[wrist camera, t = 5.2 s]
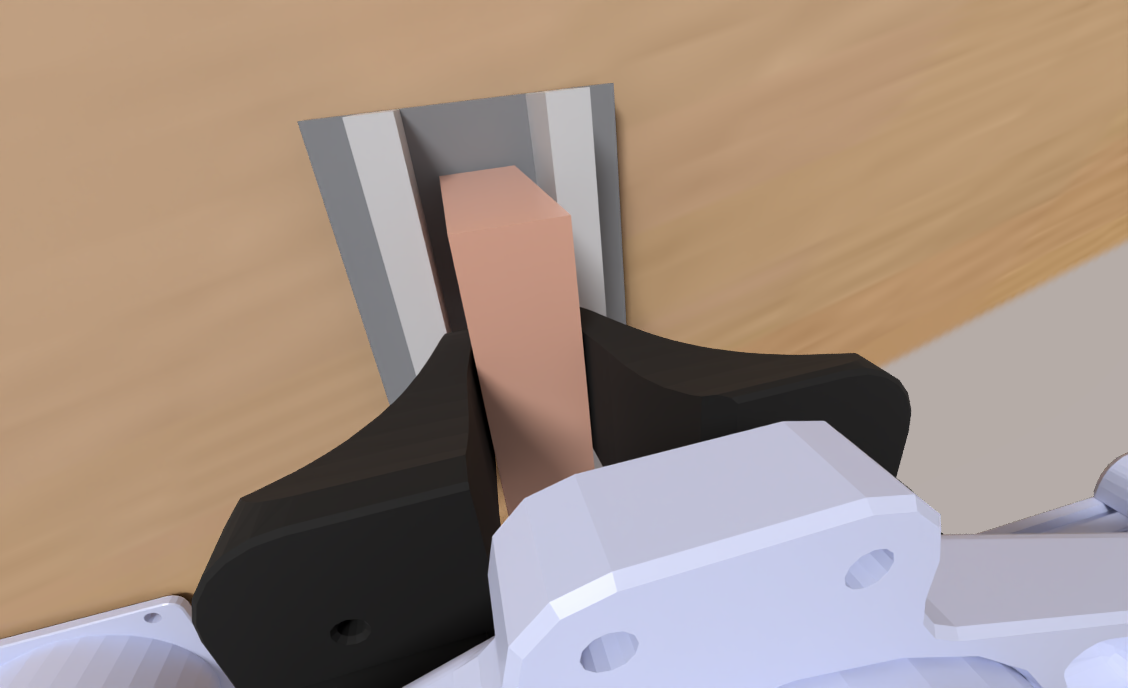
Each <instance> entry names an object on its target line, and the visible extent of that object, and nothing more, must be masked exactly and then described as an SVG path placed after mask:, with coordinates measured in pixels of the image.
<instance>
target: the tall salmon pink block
mask: <svg viewBox="0 0 1128 688" xmlns="http://www.w3.org/2000/svg"><path fill="white" fill-rule="evenodd" d="M439 178H440V185H441V192H442V199H443V206H444V213H445V220H446V227H447V234H448V239H449V244H450V248H451V253H452V257H453V262H454V267H455V271H456V276H457V280H458V285H459V290H460V294H461V299H462V303H463V308H464V313H465V317H466V322H467V326H468V331H469V336H470V340H471V345H472V349H473V354H474V359H475V363H476V368H477V373H478V377H479V382H480V386H481V391H482V396H483V400H484V405H485V409H486V414H487V419H488V423H489V428H490V432H491V437H492V442H493V446H494V451H495V455H496V460H497V465H498V469H499V474H500V478H501V483H502V488H503V492H504V497H505V502H506V506H507V511H508V515H509V516H510V515H511V514H512V512H513V511H514V510H515V509H516V508H517V506H518V505H519V504H520V503H521V502H522V501H523V499H524V498H526V497H528V496H530V495H532V494H534V493H536V492H539V491H541V490H543V489H545V488H547V487H549V486H551V485H553V484H555V483H557V482H559V481H562V480H564V479H566V478H568V477H570V476H572V475H574V474H578V473H582V472H586V471H590V470H593V469H595V467H594V457H593V446H592V435H591V425H590V414H589V403H588V392H587V382H586V371H585V360H584V350H583V339H582V328H581V317H580V307H579V296H578V285H577V274H576V264H575V253H574V242H573V232H572V221H571V215H570V214H569V213H568V212H567V211H566V210H565V209H564V208H562V207H561V206H560V205H559V204H558V203H557V202H556V201H554V200H553V199H552V198H551V197H550V196H549V195H548V194H547V193H545V192H544V191H543V190H542V189H541V188H540V187H539V186H537V185H536V184H535V183H534V182H533V181H532V180H531V179H530V178H528V177H527V176H526V175H525V174H524V173H523V172H522V171H520V170H519V169H518V168H517V167H516V166H515V165H513V166H506V167H499V168H492V169H485V170H478V171H472V172H465V173H458V174H451V175H444V176H439Z"/></svg>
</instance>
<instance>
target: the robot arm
mask: <svg viewBox="0 0 1128 688" xmlns="http://www.w3.org/2000/svg"><path fill="white" fill-rule="evenodd" d="M580 317H581V328H582V339H583V350H584V360H585V371H586V382H587V392H588V403H589V414H590V425H591V435H592V446H593V450H594V451H595V453H596V455H597V457H598V459H599V461H600V462H601V464H602V466H603V467H601V468H597V469H593V470H590V471H586V472H582V473H578V474H574V475H572V476H570V477H568V478H566V479H564V480H562V481H559V482H557V483H555V484H553V485H551V486H549V487H547V488H545V489H543V490H541V491H539V492H536V493H534V494H532V495H530V496H528V497H526V498H524V499H523V501H522V502H521V503H520V504H519V505H518V506H517V508H516V509H515V510H514V511H513V512H512V514H511V515H510V516H509V517H508V518H507V519H506V521H505V522H504V523H503V524H502V525H500V516H499V505H498V491H497V476H496V462H495V451H494V446H493V442H492V437H491V432H490V428H489V423H488V419H487V414H486V409H485V405H484V400H483V396H482V391H481V386H480V382H479V377H478V373H477V368H476V363H475V359H474V354H473V349H472V345H471V340H470V336H469V331H468V329H465V330H460V331H455V332H450V333H445V334H444V335H443V337H442V338H441V340H440V341H439V343H438V345H437V346H436V348H435V350H434V351H433V353H432V354H431V356H430V358H429V359H428V361H427V362H426V364H425V365H424V366H423V368H422V369H421V371H420V372H419V374H418V375H417V376H416V377H415V379H414V380H413V381H412V382H411V384H410V385H409V386H408V387H407V388H406V390H405V391H404V392H403V393H402V394H401V395H400V396H399V397H398V398H397V399H396V400H395V401H394V402H393V403H392V404H391V405H390V406H389V407H388V408H387V409H386V410H385V411H384V412H383V413H382V414H380V415H379V416H378V417H377V418H376V419H374V420H373V421H372V422H370V423H369V424H368V425H367V426H365V427H364V428H363V429H361V430H360V431H359V432H357V433H356V434H355V435H353V436H352V437H351V438H350V439H348V440H347V441H345V442H344V443H342V444H341V445H339V446H338V447H336V448H335V449H333V450H332V451H330V452H328V453H327V454H325V455H323V456H322V457H320V458H318V459H317V460H315V461H313V462H312V463H310V464H308V465H306V466H305V467H303V468H301V469H299V470H297V471H296V472H294V473H292V474H290V475H287V476H285V477H283V478H281V479H279V480H277V481H275V482H273V483H271V484H269V485H267V486H265V487H263V488H261V489H259V490H257V491H255V492H253V493H251V494H248V495H246V496H244V497H242V498H240V500H239V501H238V503H237V505H236V507H235V509H234V510H233V512H232V514H231V516H230V518H229V520H228V522H227V523H226V525H225V527H224V529H223V532H222V534H221V536H220V538H219V540H218V542H217V545H216V547H215V549H214V551H213V553H212V556H211V558H210V560H209V562H208V564H207V566H206V569H205V571H204V573H203V575H202V577H201V580H200V582H199V584H198V586H197V589H196V591H195V593H194V595H193V598H192V606H191V605H190V604H189V602H188V601H187V600H186V599H185V598H183V597H181V596H176V595H171V596H165V597H162V598H158V599H154V600H150V601H146V602H142V603H139V604H135V605H131V606H127V607H123V608H119V609H115V610H112V611H108V612H104V613H100V614H96V615H92V616H89V617H85V618H81V619H77V620H73V621H69V622H66V623H62V624H58V625H54V626H50V627H46V628H43V629H39V630H35V631H31V632H27V633H23V634H20V635H16V636H12V637H8V638H4V639H0V688H1128V453H1125V454H1123V455H1121V456H1119V457H1117V458H1116V459H1115V460H1113V461H1112V462H1111V463H1110V464H1109V465H1108V466H1107V467H1106V468H1105V470H1104V471H1103V473H1102V474H1101V476H1100V478H1099V479H1098V481H1097V484H1096V486H1095V489H1094V496H1093V497H1090V498H1087V499H1084V500H1081V501H1078V502H1075V503H1072V504H1068V505H1065V506H1062V507H1059V508H1056V509H1053V510H1049V511H1046V512H1043V513H1040V514H1037V515H1034V516H1031V517H1028V518H1024V519H1021V520H1018V521H1015V522H1012V523H1009V524H1006V525H1003V526H999V527H996V528H993V529H990V530H987V531H984V532H981V533H977V534H943V533H941V515H940V514H939V513H938V512H937V511H936V510H935V509H933V508H932V507H930V505H928V504H927V503H926V502H925V501H923V500H922V499H921V498H920V497H919V496H917V495H916V494H915V493H914V492H913V491H912V490H911V489H909V488H908V487H907V486H905V485H904V484H903V483H902V482H901V481H900V480H898V479H897V478H896V476H897V472H898V468H899V465H900V461H901V457H902V454H903V450H904V446H905V443H906V439H907V435H908V431H909V425H910V417H911V406H910V401H909V396H908V392H907V391H906V389H905V388H904V386H903V385H902V383H901V382H900V380H898V379H897V378H895V377H894V376H892V375H890V374H889V373H887V372H886V371H884V370H882V369H881V368H879V367H878V366H876V365H874V364H873V363H871V362H870V361H868V360H866V359H865V358H863V357H862V356H860V355H858V354H856V353H845V354H815V355H779V354H757V353H744V352H735V351H727V350H719V349H712V348H706V347H701V346H696V345H691V344H687V343H682V342H678V341H674V340H670V339H666V338H663V337H660V336H656V335H653V334H650V333H647V332H644V331H641V330H638V329H636V328H633V327H630V326H628V325H625V324H623V323H620V322H618V321H615V320H613V319H610V318H608V317H606V316H603V315H601V314H599V313H596V312H594V311H591V310H589V309H586V308H582V307H580Z"/></svg>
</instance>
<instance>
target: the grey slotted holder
mask: <svg viewBox="0 0 1128 688" xmlns="http://www.w3.org/2000/svg"><path fill="white" fill-rule="evenodd" d="M298 125H299V128H300V131H301V134H302V137H303V140H304V143H305V146H306V149H307V152H308V155H309V159H310V162H311V165H312V168H313V171H314V174H315V177H316V180H317V183H318V186H319V189H320V192H321V195H322V198H323V201H324V205H325V208H326V211H327V214H328V217H329V220H330V223H331V226H332V229H333V232H334V235H335V238H336V241H337V244H338V247H339V251H340V254H341V257H342V260H343V263H344V266H345V269H346V272H347V275H348V278H349V281H350V284H351V287H352V290H353V293H354V297H355V300H356V303H357V306H358V309H359V312H360V315H361V318H362V321H363V324H364V327H365V330H366V333H367V336H368V339H369V343H370V346H371V349H372V352H373V355H374V358H375V361H376V364H377V367H378V370H379V373H380V376H381V379H382V382H383V385H384V389H385V392H386V395H387V398H388V401H389V404H390V405H391V404H392V403H393V402H394V401H395V400H396V399H397V398H398V397H399V396H400V395H401V394H402V393H403V392H404V391H405V390H406V388H407V387H408V386H409V385H410V384H411V382H412V381H413V380H414V379H415V377H416V376H417V375H418V374H419V372H420V371H421V369H422V368H423V366H424V365H425V364H426V362H427V361H428V359H429V358H430V356H431V354H432V353H433V351H434V350H435V348H436V346H437V345H438V343H439V341H440V340H441V338H442V337H443V335H444V334H445V333H450V332H455V331H460V330H465V329H468V326H467V322H466V317H465V313H464V308H463V303H462V299H461V294H460V290H459V285H458V280H457V276H456V271H455V267H454V262H453V257H452V253H451V248H450V244H449V239H448V234H447V227H446V220H445V213H444V206H443V199H442V192H441V185H440V178H439V176H444V175H451V174H458V173H465V172H472V171H478V170H485V169H492V168H499V167H506V166H513V165H515V166H516V167H517V168H518V169H519V170H520V171H522V172H523V173H524V174H525V175H526V176H527V177H528V178H530V179H531V180H532V181H533V182H534V183H535V184H536V185H537V186H539V187H540V188H541V189H542V190H543V191H544V192H545V193H547V194H548V195H549V196H550V197H551V198H552V199H553V200H554V201H556V202H557V203H558V204H559V205H560V206H561V207H562V208H564V209H565V210H566V211H567V212H568V213H569V214H570V215H571V221H572V232H573V242H574V253H575V264H576V274H577V285H578V296H579V307H582V308H586V309H589V310H591V311H594V312H596V313H599V314H601V315H603V316H606V317H608V318H610V319H613V320H615V321H618V322H620V323H623V324H625V325H626V310H625V291H624V273H623V254H622V235H621V216H620V197H619V178H618V160H617V141H616V122H615V103H614V84H613V83H608V84H598V85H590V86H582V87H574V88H565V89H557V90H549V91H541V92H533V93H524V94H516V95H508V96H500V97H492V98H483V99H475V100H467V101H459V102H451V103H442V104H434V105H426V106H418V107H410V108H401V109H393V110H385V111H377V112H369V113H360V114H352V115H344V116H336V117H328V118H319V119H311V120H304V121H298ZM593 457H594V467H595V469H597V468H601V467H603V466H602V464H601V462H600V461H599V459H598V457H597V455H596V453H595V451H594V450H593Z"/></svg>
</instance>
